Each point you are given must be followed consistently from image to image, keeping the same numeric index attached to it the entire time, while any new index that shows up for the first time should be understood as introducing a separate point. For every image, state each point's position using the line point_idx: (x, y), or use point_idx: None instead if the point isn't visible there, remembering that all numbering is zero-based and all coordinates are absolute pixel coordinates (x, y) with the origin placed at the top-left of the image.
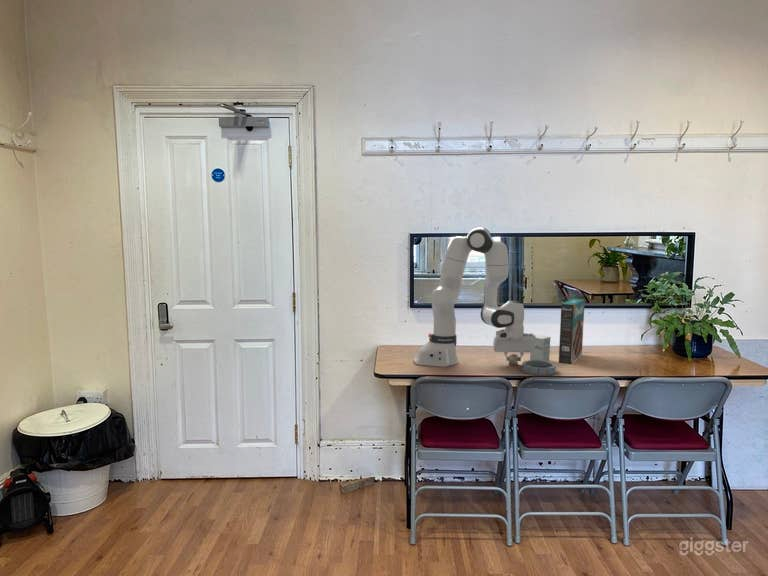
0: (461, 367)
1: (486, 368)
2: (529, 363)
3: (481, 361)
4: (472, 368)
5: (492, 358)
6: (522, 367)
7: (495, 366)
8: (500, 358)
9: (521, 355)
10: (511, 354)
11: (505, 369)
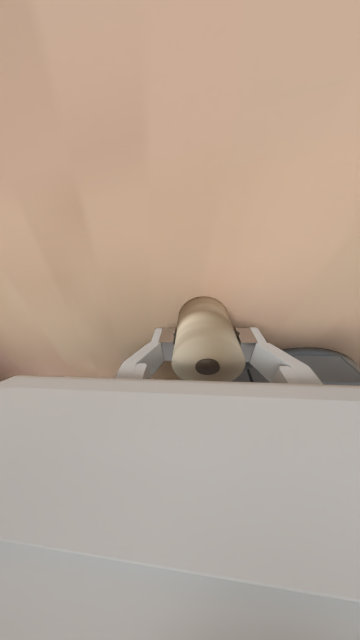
0: (5, 361)
1: (90, 368)
2: None
3: (7, 262)
4: (46, 369)
5: (21, 105)
6: None
7: (116, 346)
8: (104, 76)
9: (269, 379)
10: (192, 355)
11: (159, 375)
